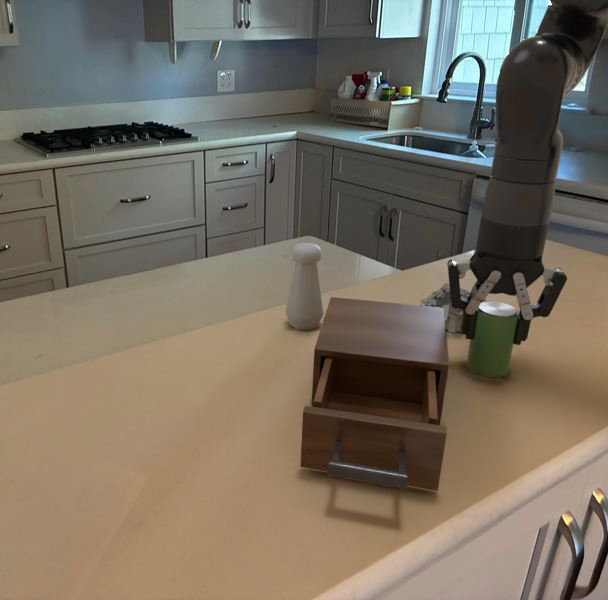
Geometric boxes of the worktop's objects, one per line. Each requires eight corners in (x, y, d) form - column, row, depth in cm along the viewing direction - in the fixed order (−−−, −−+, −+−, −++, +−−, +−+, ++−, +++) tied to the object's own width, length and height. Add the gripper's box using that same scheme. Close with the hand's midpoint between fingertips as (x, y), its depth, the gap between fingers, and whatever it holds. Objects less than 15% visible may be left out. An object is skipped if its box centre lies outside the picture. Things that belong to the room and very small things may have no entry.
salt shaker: (296, 313, 100) (299, 236, 95) (328, 321, 97) (333, 243, 92) (278, 326, 96) (280, 247, 90) (311, 335, 93) (315, 254, 87)
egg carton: (461, 337, 91) (464, 312, 89) (413, 322, 96) (416, 298, 94) (488, 313, 98) (492, 290, 96) (442, 301, 103) (446, 278, 101)
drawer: (439, 526, 56) (449, 465, 53) (292, 498, 59) (294, 440, 57) (434, 410, 72) (441, 359, 70) (319, 393, 76) (322, 345, 73)
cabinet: (439, 430, 70) (449, 365, 67) (311, 411, 74) (314, 348, 71) (435, 365, 84) (443, 307, 80) (327, 352, 88) (330, 296, 84)
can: (505, 360, 84) (516, 302, 81) (510, 379, 80) (522, 318, 76) (464, 356, 86) (474, 298, 82) (467, 374, 81) (477, 314, 78)
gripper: (454, 219, 73) (435, 345, 80) (590, 227, 69) (558, 360, 76) (450, 203, 80) (433, 321, 86) (574, 210, 76) (546, 333, 82)
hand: (492, 339), depth 81 cm, fingers closed on can, 5 cm apart
